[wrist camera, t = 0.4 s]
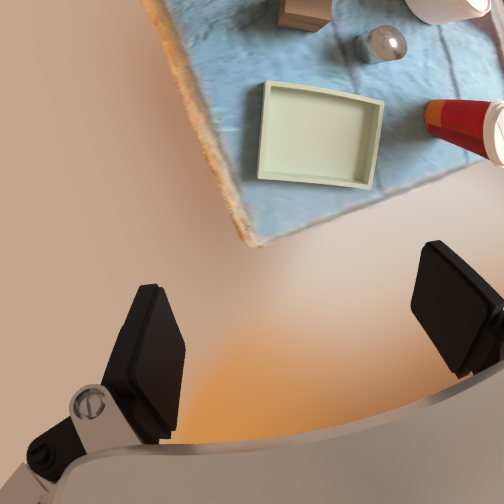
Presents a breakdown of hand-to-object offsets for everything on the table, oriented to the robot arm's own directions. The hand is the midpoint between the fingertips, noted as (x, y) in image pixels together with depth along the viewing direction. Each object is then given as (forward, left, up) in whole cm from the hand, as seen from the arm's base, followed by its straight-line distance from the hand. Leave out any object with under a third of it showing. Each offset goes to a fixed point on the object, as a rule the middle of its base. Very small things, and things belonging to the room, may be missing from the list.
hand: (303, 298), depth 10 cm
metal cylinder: (-17, +14, -29) cm, 36 cm away
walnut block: (-20, +4, -29) cm, 35 cm away
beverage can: (-29, +23, -29) cm, 47 cm away
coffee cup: (-10, +27, -29) cm, 41 cm away
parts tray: (-4, +8, -29) cm, 30 cm away
